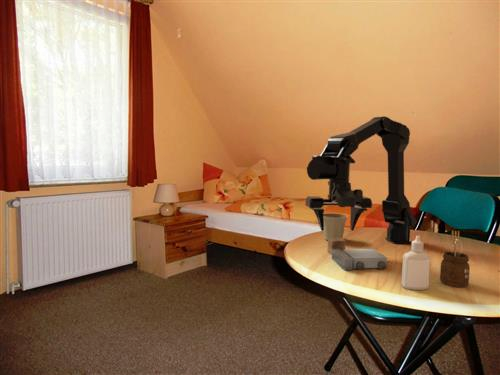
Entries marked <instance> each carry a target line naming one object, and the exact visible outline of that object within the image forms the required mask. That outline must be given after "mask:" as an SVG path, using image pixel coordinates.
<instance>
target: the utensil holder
mask: <svg viewBox="0 0 500 375" xmlns="http://www.w3.org/2000/svg"><path fill="white" fill-rule="evenodd" d="M459 244H460V245H459ZM450 245H451V247H452V248H453V249H451V251H445V252H443V255H442V258H443V259H442V260H441V263H440V270H439V271H440V272H439V280H440V282H441V283H442V284H444V285H446V286H449V287H455V288H466V287H468V285H469V282H470V281H469V280H470V271H471V270H470V264H469V261H470V260H469V258H470V257H469V255H468V254H466V253H463V250H464V249H463V248H464V247H463V241H462V240H460V231H459V230H458V231H456V230H455V231H454V230H452V231H451V244H450ZM458 245H459V246H460V247H457V246H458ZM458 248H460V250H459V251H458Z"/></svg>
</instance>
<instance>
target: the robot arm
mask: <svg viewBox="0 0 500 375" xmlns="http://www.w3.org/2000/svg"><path fill="white" fill-rule="evenodd" d="M375 135H376V136H377V137H379V138H380V139H381V143H382V146H383V148H384V150H385V151H386V153H387V188H388V189H387V190H388V194H387V197H386V198H385V199H383V200H382V202H381V206H382V207H381V208H382V210H381V212H382V215H383V217H384V218H383V219H384V223H388V227H387V228H386V229H387V230H386V237H385V240H387V241H388V242H391V243H393V244H412V240H410V238H411V227H414V226H415V225H416V221H417V219H416V217H415V216H414V213H413V212H412V211H411V204H410V203H411V202H410V201H409V199H408V198H407V197H406V195H405V161H404V160H405V159H404V158H405V155H404V154H405V150H406V149H407V147H408V145H409V143H410V135H411V131H410V127H408V126H407V125H405V124H403V123H401V122H398V121H396V120H393V119H391V118H390V117H388V116H385V115H384V116H375V117H373V118H371V119H370V120H369V121H367V122H365V123H363V124H361V125H359V126H358V127H356V128H354V129H353V130H350V131H349V132H346V133H340V134H336V135H333V136H330V137H329V138H328V139H327V142H326V145H325V147H324V148H323V149H322V152H321V153H320V155H312V157H311V160H310V161H309V163H308V164H307V166H306V173H307V175H308V178H309V179H310V180H313V181H315V180H316V181H318V180H319V181H320V180H329V181H328V182H327V184H328V194H327V198H323V197H321V196H318V195H317V196H314V195H313V196H312V195H311V196H310V195H309V196H307V197H306V198H305V206H306V207H308V208H309V209H311V210H312V211H313V213H314V214H315V217H316V218H317V221H318V225H319V228H320V231H321V232H324V217H323V214H324V213H325V209H324V208H323V207H324V206H338V207H339V208H347V207H349V208H350V218H349V219H350V221H349V222H350V223H349V224H350V225H349V226H350V231H354V230H355V228H356V225H357V223H358V220H359V218H360V217H361V215H362V214H363V213H364V212H366V211H368V209H372V208H373V201H372V199H371V198H370V197H367V196H363V195H364V194H363V193H364V191H363V189H360V188H359V189H357V188H355V189H352V184H351V182H350V170H351V168H350V167H351V164H356V160H355V159H354V158H353V157H352V154H354V152H356V151H357V150H358V149H359V146H360V144H361V143H363V142H365V141H367V140H368V139H370V138H372V137H374V136H375Z"/></svg>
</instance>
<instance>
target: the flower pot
mask: <svg viewBox="0 0 500 375" xmlns="http://www.w3.org/2000/svg"><path fill="white" fill-rule="evenodd" d="M323 217H324V230H323V237H324V240H325V241H328V238H342V239H343V238H344V233H345V228H346V227H345V226H346V222H347V219H348V218H349V215H347V214H344V213H336V212H328V213H327V212H326V213H325V212H324V213H323ZM343 240H344V239H343Z"/></svg>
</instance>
